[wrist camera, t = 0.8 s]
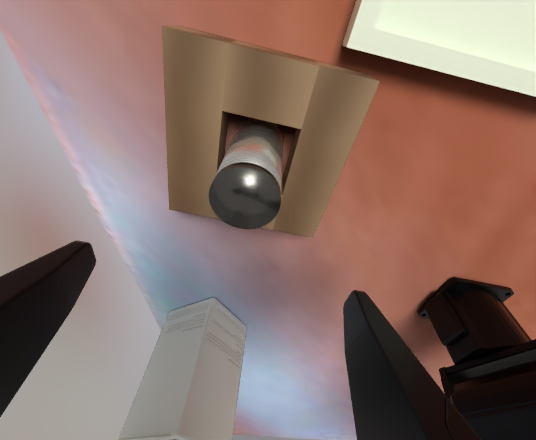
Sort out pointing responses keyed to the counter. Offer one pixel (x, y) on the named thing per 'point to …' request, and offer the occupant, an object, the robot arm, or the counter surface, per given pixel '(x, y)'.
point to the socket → (259, 107)
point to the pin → (250, 176)
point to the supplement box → (190, 377)
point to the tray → (452, 37)
